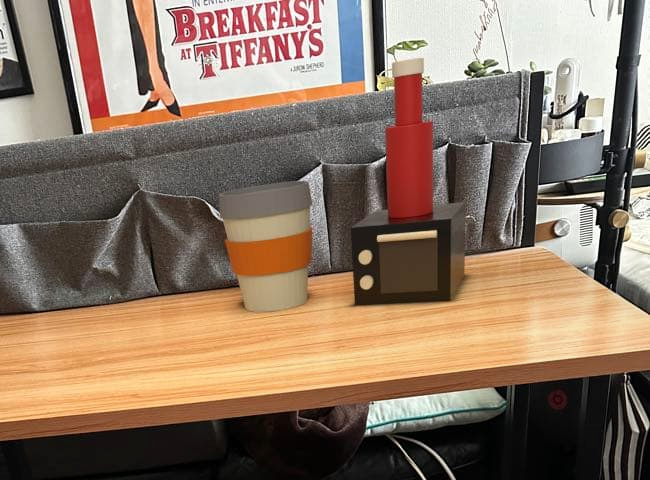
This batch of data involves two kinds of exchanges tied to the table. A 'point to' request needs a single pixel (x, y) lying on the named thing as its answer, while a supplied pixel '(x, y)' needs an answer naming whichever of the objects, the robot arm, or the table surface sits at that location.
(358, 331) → the table surface
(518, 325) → the table surface
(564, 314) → the table surface
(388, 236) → the toaster oven
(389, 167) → the ketchup bottle
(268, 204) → the reusable coffee cup
